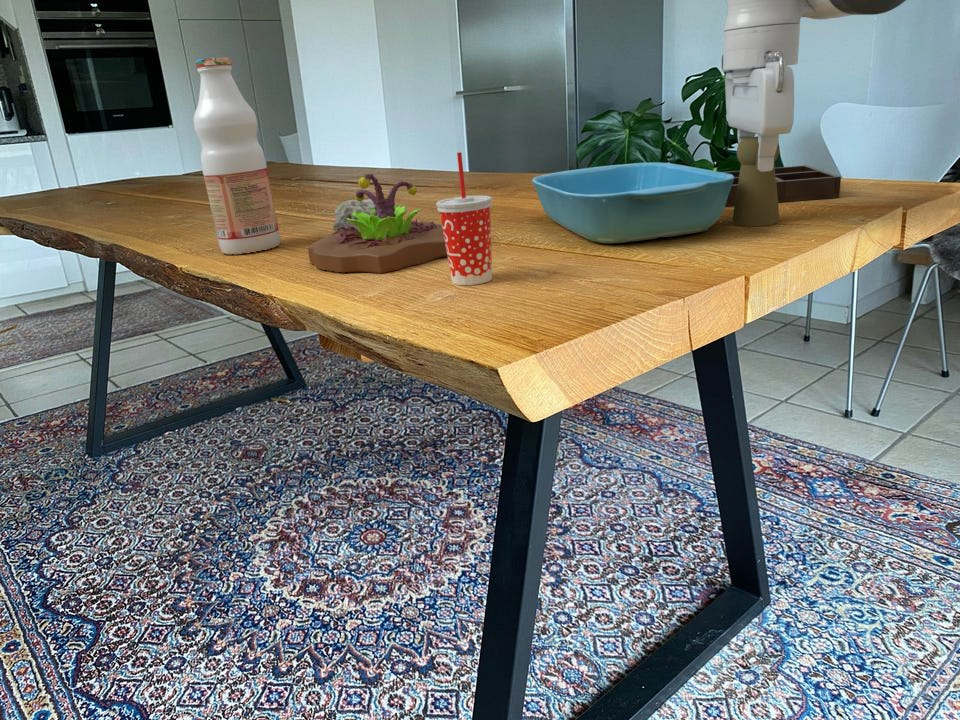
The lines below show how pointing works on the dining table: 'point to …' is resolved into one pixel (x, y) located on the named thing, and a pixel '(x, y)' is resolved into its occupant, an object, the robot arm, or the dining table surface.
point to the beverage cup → (467, 235)
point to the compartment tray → (797, 184)
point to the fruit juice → (233, 163)
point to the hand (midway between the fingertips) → (755, 166)
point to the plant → (379, 237)
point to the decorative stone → (351, 212)
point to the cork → (755, 189)
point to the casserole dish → (634, 200)
